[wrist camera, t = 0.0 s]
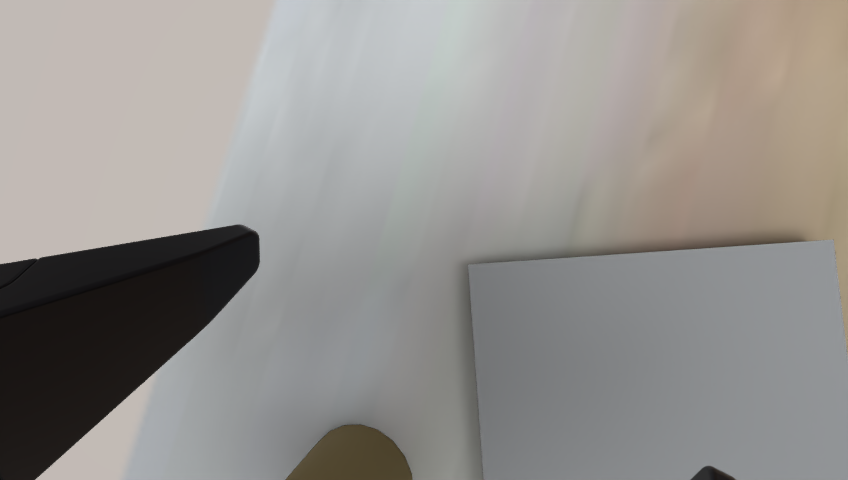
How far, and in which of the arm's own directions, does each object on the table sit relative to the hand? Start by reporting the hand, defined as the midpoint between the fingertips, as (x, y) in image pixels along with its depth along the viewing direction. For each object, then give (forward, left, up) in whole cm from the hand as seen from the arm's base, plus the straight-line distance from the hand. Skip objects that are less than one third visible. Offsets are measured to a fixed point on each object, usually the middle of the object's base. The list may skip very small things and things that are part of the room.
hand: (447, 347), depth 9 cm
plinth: (-5, -5, -15) cm, 17 cm away
